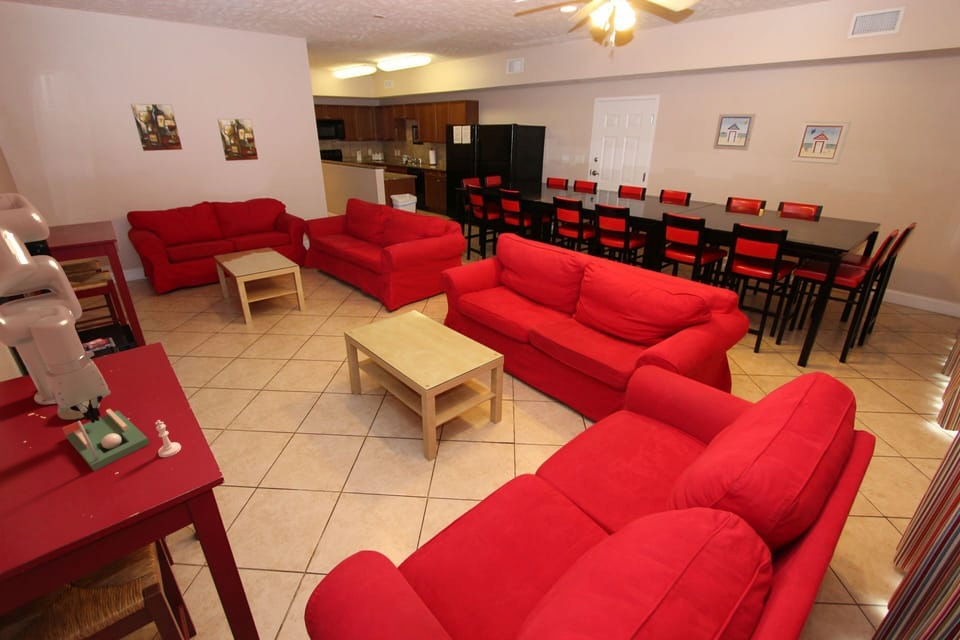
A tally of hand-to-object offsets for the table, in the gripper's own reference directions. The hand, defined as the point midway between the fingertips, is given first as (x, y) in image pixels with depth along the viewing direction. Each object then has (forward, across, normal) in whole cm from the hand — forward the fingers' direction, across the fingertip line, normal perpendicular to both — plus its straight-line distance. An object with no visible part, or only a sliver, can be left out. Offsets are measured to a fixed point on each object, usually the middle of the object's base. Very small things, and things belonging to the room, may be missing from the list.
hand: (94, 419), depth 115 cm
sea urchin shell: (+5, 0, -15) cm, 16 cm away
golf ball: (+2, 0, +10) cm, 10 cm away
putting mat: (+4, 0, +6) cm, 7 cm away
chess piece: (+4, -8, +23) cm, 25 cm away
